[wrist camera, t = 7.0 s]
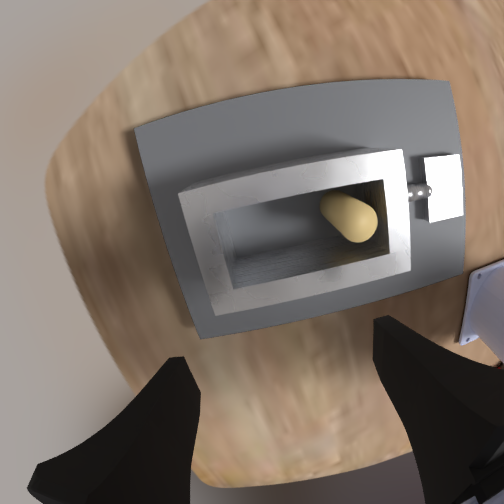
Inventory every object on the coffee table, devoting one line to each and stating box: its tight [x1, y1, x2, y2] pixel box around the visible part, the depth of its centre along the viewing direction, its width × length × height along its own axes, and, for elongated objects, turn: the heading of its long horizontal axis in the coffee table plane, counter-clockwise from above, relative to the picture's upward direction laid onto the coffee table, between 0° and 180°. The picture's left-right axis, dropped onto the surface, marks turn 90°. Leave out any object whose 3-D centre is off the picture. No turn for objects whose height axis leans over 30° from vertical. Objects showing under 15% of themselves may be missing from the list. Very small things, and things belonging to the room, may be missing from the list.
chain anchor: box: [407, 154, 463, 223], centre depth 15 cm, size 5×4×1 cm
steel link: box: [178, 147, 411, 316], centre depth 14 cm, size 10×6×4 cm, turn 103°
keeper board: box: [134, 79, 466, 339], centre depth 15 cm, size 20×14×6 cm
